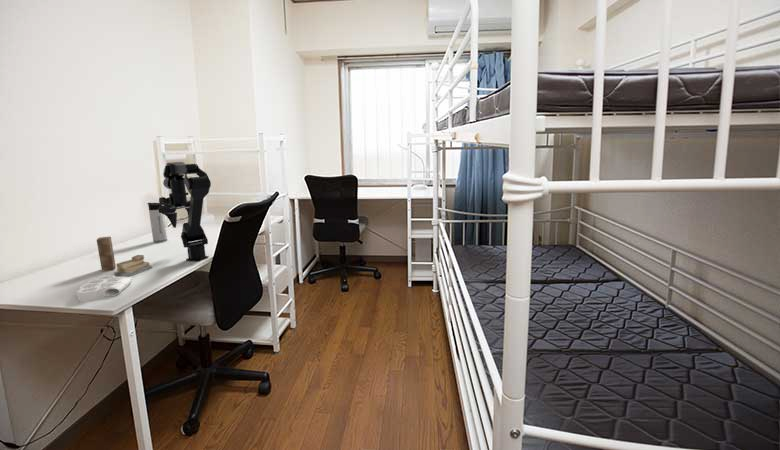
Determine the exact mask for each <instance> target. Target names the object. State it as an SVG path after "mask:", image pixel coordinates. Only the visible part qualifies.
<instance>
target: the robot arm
mask: <svg viewBox="0 0 780 450" xmlns="http://www.w3.org/2000/svg"><path fill="white" fill-rule="evenodd" d="M162 174H163V178H164V180H163V182H162V183H163V186H164V187H165V188H166V189H168V190H170V191H171V193H169V194H168V195H169V197H165V196H161V197H159V198H158V203H160V205H162V206H160V207H159V208H158V209H159V213H162V214H164V216H166V217H167V219H168V221H169V222H170V224H171V226H172V228H175V229H176V228H177V222H178V221H177V220H178V219H177V218H178V212H176V211H177V210H181V209H185V210H186V212H187V217H188V219H187V222H183V223H182V229H181V230H182V232H181V234H180V235H181V236H180V239H181V242H182V246H183V248H187V256H188V257H187V258H186V261H191V262H192V261H194V262H199V261H202V260H205V259H207V258H209V255H206V249H205V248H206V247H205V245H208V244H209V243H208V242H209V241H208V238H207V236H206V233H205V231H204V228H203V227H202V225H201V222H202V215H203V207H204V206H203V205H204V199H205V197H206V196H207V195H208V194H209V192H210V188H211V186H212V185H211V184H212V183H211V180H210V178H209V176H208V174H207V172H205V171H204V170H203V169H201V168H200V167H199V165H198V164H197V163H185V162H184V161H176V162H175V161H171V162H166V164H165V166H164V169H163V173H162ZM188 175H197V176H191V177H188ZM187 191H188V192H187ZM189 195H190V200H188V199H187V196H189Z"/></svg>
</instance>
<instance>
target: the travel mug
mask: <svg viewBox="0 0 780 450" xmlns="http://www.w3.org/2000/svg"><path fill="white" fill-rule="evenodd" d="M147 205H148V212H149V220H150V228H151V233H152V234H151V236H152V240H153V241H152V242H153V243H156V244H157V243H165V242H167V241H168V235H167V228H166V221H165V220H166V219H165V215H164V214H162V213H159V209H158V208H159V207H160V206H163V205H160V203H159V202H147Z"/></svg>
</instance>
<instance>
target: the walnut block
mask: <svg viewBox="0 0 780 450" xmlns="http://www.w3.org/2000/svg"><path fill="white" fill-rule="evenodd" d="M96 244H97V251H98V256H99V262H100V263H99V264H100V268H101V272H108V271H114V270H115V269H117V265H116V259H115V254H114V253H115V252H114V247H113V241H112V237H111V236H102V237H101V236H100V237H98V238H97V239H96Z"/></svg>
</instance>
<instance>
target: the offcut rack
mask: <svg viewBox="0 0 780 450" xmlns="http://www.w3.org/2000/svg"><path fill="white" fill-rule="evenodd" d="M144 260H145V255H144V254H137V255H133V256H131V259H128V260H125V261H122V262H118V263H115V265H116V269H117V271H114V272H113V274H112V275H114V276H115V277H131V276H134V275H136V274H139V273H142V272H145V271H148V270H151V269H153V265H150V262H149V261H144Z"/></svg>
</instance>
